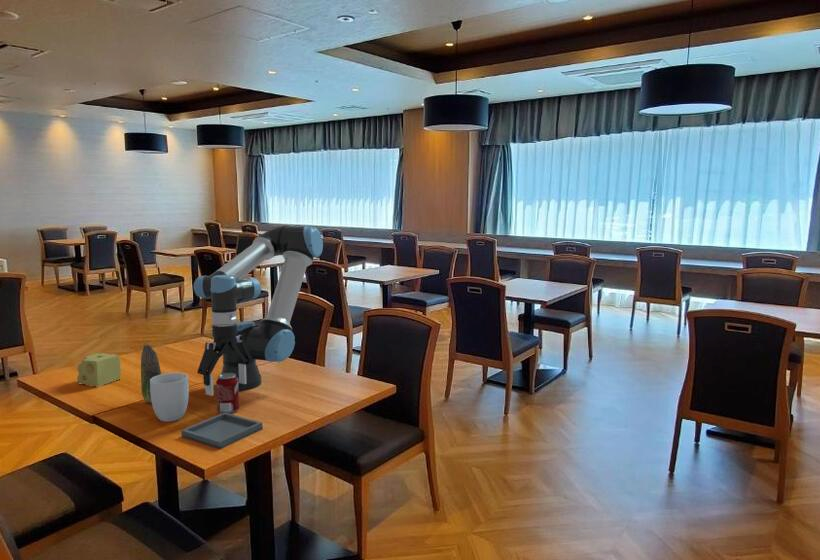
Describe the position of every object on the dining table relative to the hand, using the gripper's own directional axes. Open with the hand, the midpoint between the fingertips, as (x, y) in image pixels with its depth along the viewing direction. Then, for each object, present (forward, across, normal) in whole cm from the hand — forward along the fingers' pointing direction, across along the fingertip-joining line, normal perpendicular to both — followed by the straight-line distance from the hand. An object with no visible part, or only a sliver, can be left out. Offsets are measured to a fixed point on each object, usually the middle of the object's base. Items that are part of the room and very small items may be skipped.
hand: (226, 389), depth 181 cm
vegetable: (+8, -6, +29) cm, 31 cm away
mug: (+8, -12, +12) cm, 19 cm away
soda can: (+8, +1, 0) cm, 8 cm away
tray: (+8, -12, -12) cm, 19 cm away
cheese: (+8, -3, +64) cm, 65 cm away
